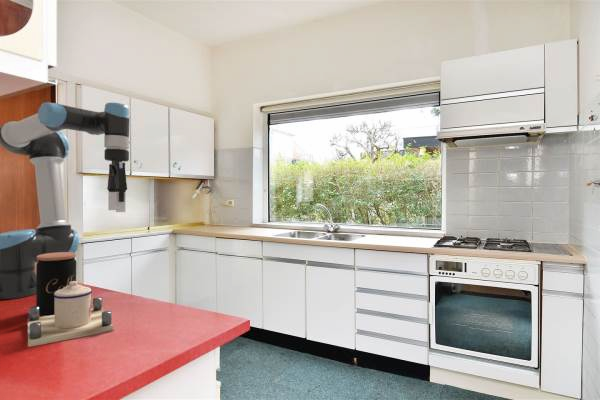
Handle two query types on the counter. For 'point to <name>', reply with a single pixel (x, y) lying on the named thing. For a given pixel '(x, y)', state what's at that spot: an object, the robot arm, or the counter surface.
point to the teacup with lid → (72, 306)
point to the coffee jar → (53, 278)
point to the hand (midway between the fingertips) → (116, 211)
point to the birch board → (68, 329)
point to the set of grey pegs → (36, 327)
